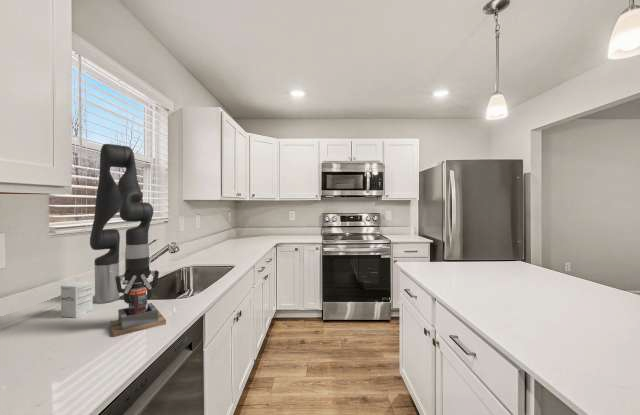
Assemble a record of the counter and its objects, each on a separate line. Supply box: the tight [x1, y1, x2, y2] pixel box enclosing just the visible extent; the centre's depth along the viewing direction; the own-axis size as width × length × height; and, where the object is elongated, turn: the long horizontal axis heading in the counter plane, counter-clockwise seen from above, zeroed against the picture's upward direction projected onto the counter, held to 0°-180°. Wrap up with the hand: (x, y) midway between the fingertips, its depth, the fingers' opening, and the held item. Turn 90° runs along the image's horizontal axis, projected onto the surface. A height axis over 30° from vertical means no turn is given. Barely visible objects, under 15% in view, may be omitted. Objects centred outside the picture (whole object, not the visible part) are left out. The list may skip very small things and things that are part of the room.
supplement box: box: [60, 280, 94, 319], centre depth 118 cm, size 7×7×13 cm
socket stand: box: [109, 302, 167, 338], centre depth 107 cm, size 12×16×6 cm
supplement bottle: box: [128, 282, 148, 315], centre depth 107 cm, size 6×6×11 cm
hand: (137, 300), depth 107 cm, fingers closed on supplement bottle, 6 cm apart
